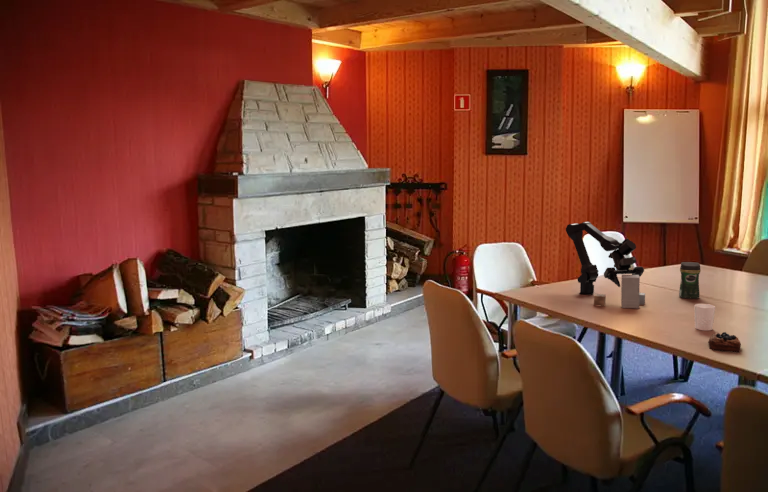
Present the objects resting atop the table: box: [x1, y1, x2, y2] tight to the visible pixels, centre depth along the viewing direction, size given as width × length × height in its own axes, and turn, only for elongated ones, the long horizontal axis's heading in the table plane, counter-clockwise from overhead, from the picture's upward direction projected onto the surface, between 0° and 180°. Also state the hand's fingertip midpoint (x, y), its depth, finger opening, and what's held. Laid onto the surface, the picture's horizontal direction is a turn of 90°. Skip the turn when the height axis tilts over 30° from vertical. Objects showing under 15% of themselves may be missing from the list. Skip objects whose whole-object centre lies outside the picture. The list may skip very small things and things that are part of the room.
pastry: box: [707, 331, 742, 353], centre depth 242 cm, size 11×12×6 cm
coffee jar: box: [678, 261, 702, 300], centre depth 323 cm, size 10×8×19 cm
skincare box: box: [620, 274, 641, 309], centre depth 306 cm, size 8×7×16 cm
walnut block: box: [593, 293, 606, 307], centre depth 312 cm, size 5×5×5 cm
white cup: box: [693, 303, 716, 332], centre depth 267 cm, size 8×8×10 cm
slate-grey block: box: [639, 292, 646, 306], centre depth 314 cm, size 5×5×5 cm
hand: (628, 286), depth 307 cm, fingers open, 9 cm apart
